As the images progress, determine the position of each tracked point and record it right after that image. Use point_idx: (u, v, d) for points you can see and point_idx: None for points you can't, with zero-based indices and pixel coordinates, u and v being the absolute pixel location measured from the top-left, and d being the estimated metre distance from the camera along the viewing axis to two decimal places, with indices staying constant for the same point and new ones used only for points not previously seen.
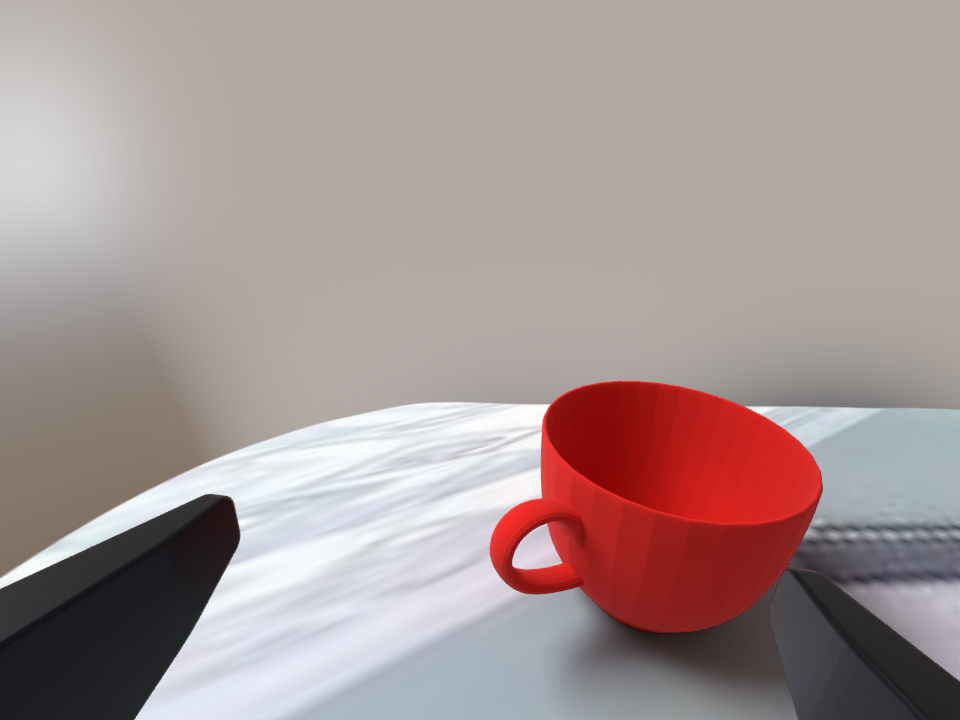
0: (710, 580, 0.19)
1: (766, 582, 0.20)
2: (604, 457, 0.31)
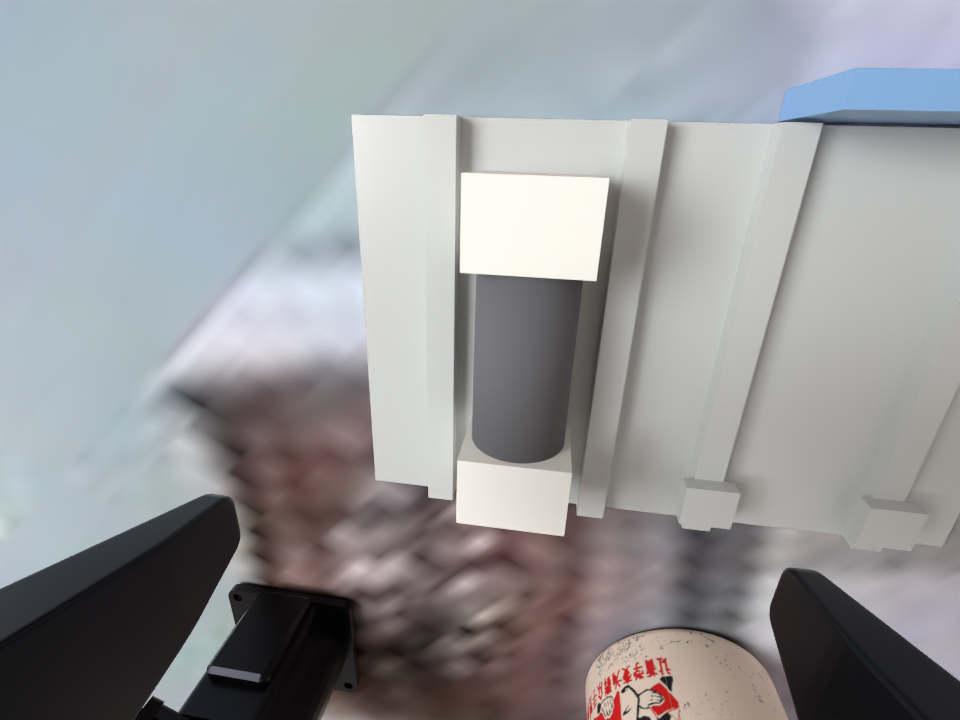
0: None
1: None
2: None
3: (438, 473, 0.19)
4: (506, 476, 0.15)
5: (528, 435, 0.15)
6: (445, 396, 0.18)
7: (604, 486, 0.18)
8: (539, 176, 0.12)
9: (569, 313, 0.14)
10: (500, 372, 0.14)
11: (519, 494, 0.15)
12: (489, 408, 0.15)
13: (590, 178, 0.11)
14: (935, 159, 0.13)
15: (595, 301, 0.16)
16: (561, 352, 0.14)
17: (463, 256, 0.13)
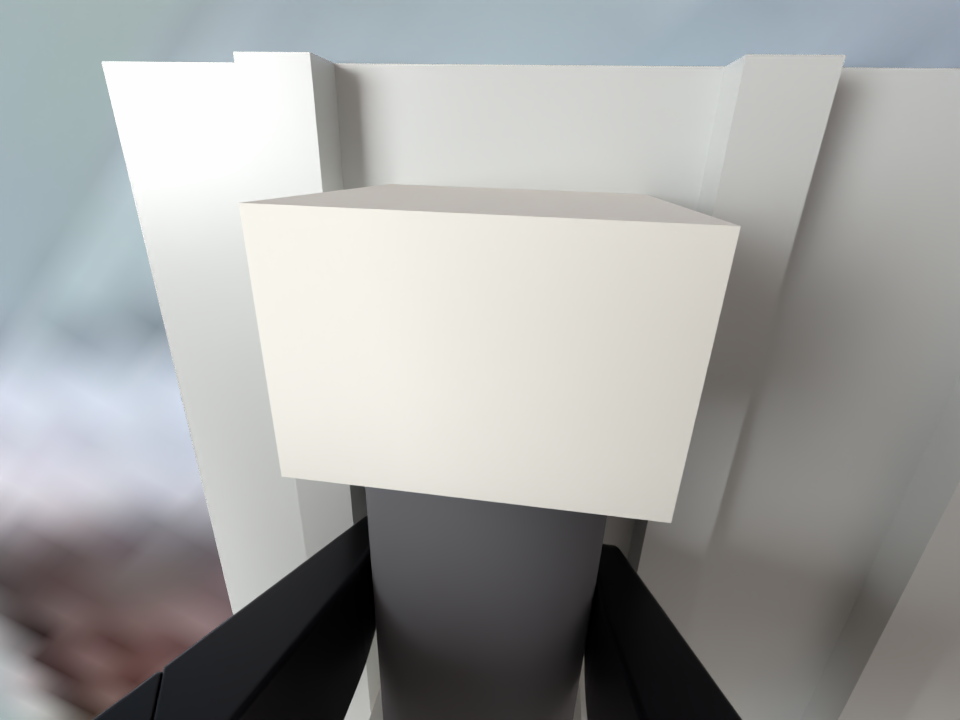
0: None
1: None
2: None
3: None
4: None
5: None
6: None
7: None
8: (492, 217, 0.03)
9: (585, 546, 0.05)
10: (419, 670, 0.06)
11: None
12: None
13: (670, 226, 0.03)
14: None
15: None
16: (565, 627, 0.06)
17: (286, 436, 0.04)
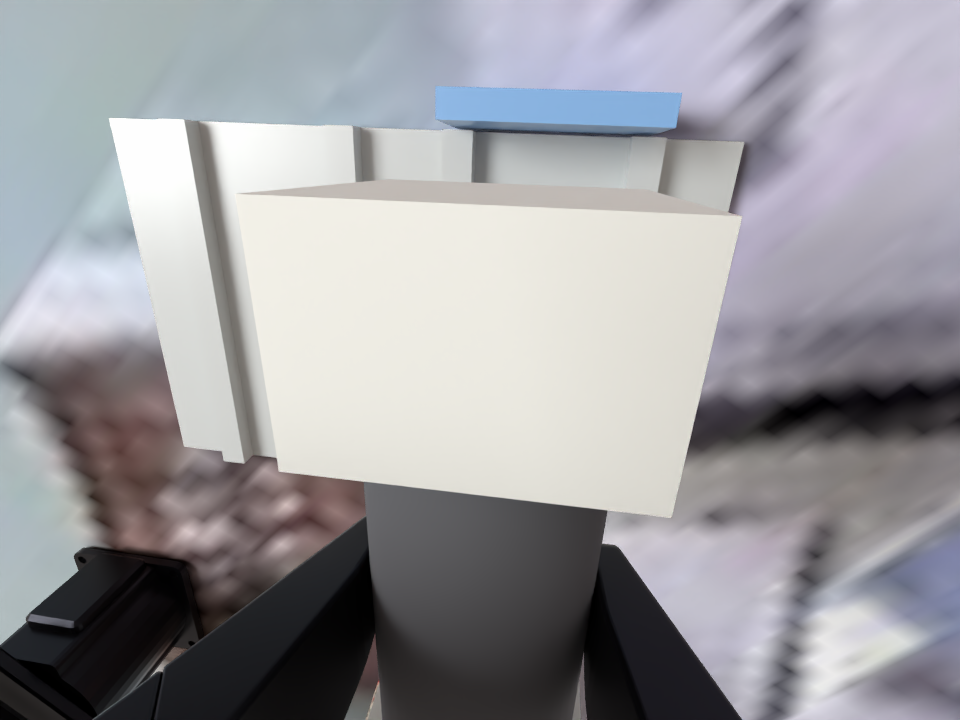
0: None
1: None
2: None
3: (228, 438, 0.21)
4: None
5: None
6: (221, 367, 0.20)
7: None
8: (491, 208, 0.03)
9: (585, 542, 0.05)
10: (418, 668, 0.06)
11: None
12: (401, 718, 0.07)
13: (671, 217, 0.03)
14: (578, 162, 0.16)
15: None
16: (565, 624, 0.06)
17: (283, 431, 0.04)
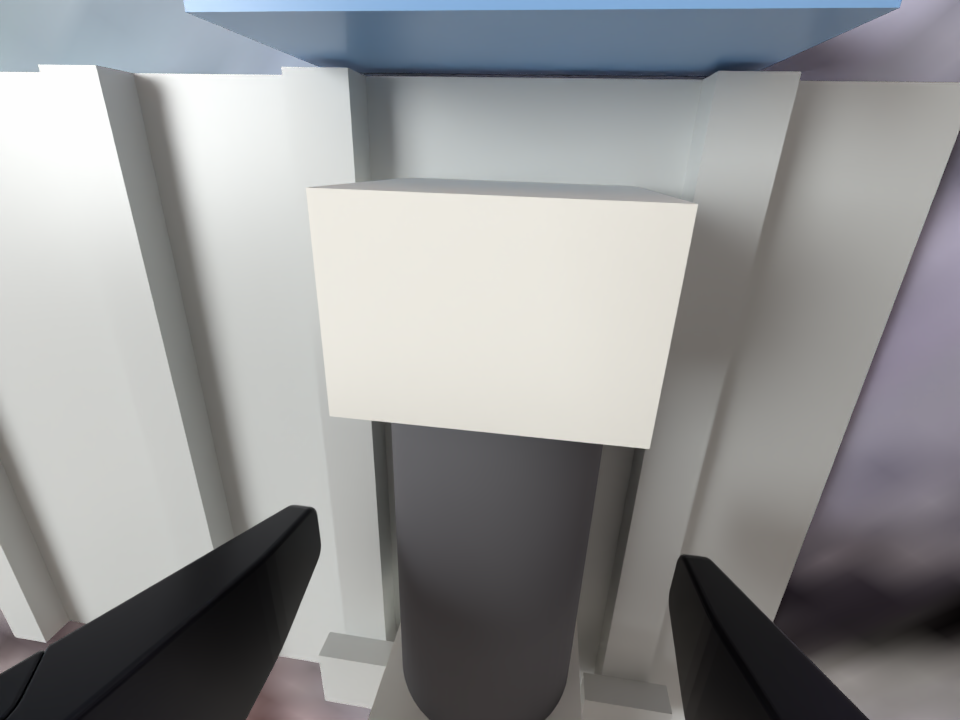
0: None
1: None
2: None
3: (12, 607, 0.13)
4: None
5: (498, 700, 0.07)
6: None
7: None
8: (507, 198, 0.04)
9: (581, 484, 0.06)
10: (438, 594, 0.07)
11: None
12: (422, 644, 0.07)
13: (645, 205, 0.04)
14: (587, 138, 0.07)
15: None
16: (564, 556, 0.07)
17: (334, 382, 0.05)
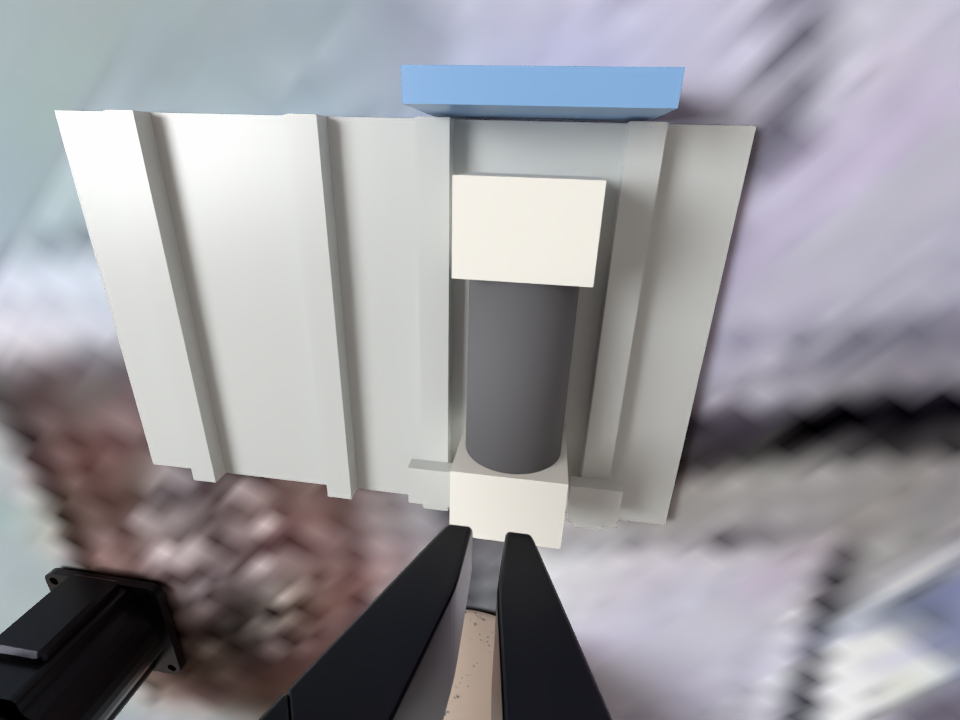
0: None
1: None
2: None
3: (197, 456, 0.20)
4: (500, 487, 0.15)
5: (523, 445, 0.14)
6: (186, 381, 0.18)
7: (345, 467, 0.19)
8: (533, 178, 0.11)
9: (565, 320, 0.13)
10: (494, 380, 0.14)
11: (514, 506, 0.15)
12: (483, 417, 0.14)
13: (586, 181, 0.11)
14: (569, 151, 0.14)
15: None
16: (557, 360, 0.13)
17: (455, 261, 0.12)
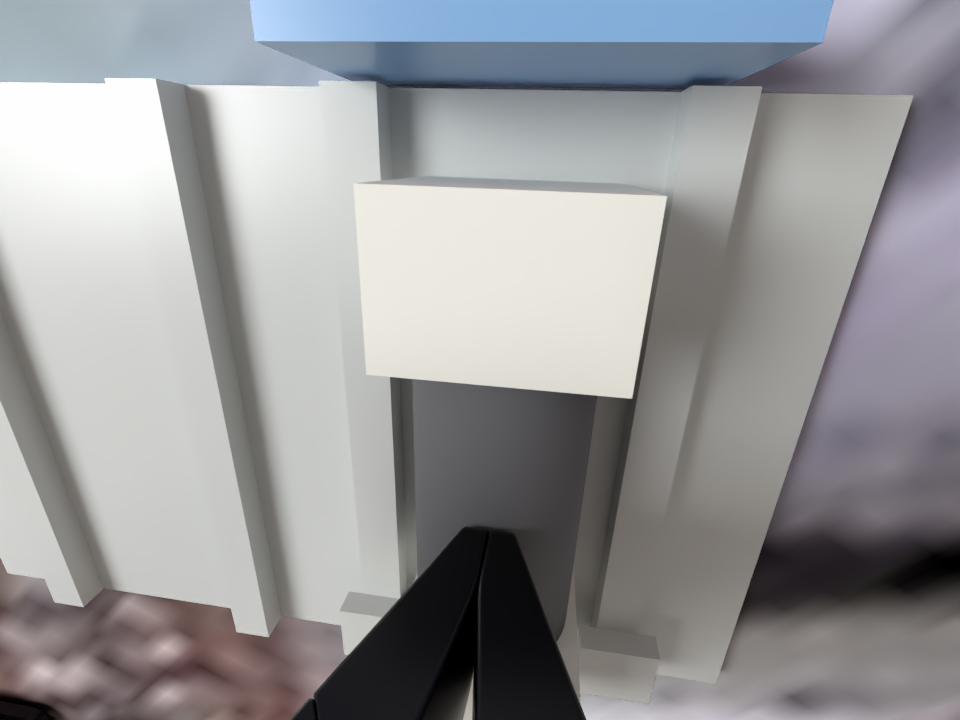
0: None
1: None
2: None
3: (54, 573, 0.14)
4: (469, 692, 0.09)
5: None
6: (22, 477, 0.13)
7: (256, 598, 0.13)
8: (516, 191, 0.05)
9: (576, 437, 0.07)
10: (454, 535, 0.08)
11: None
12: None
13: (625, 196, 0.05)
14: (582, 142, 0.08)
15: None
16: (562, 501, 0.08)
17: (371, 345, 0.06)
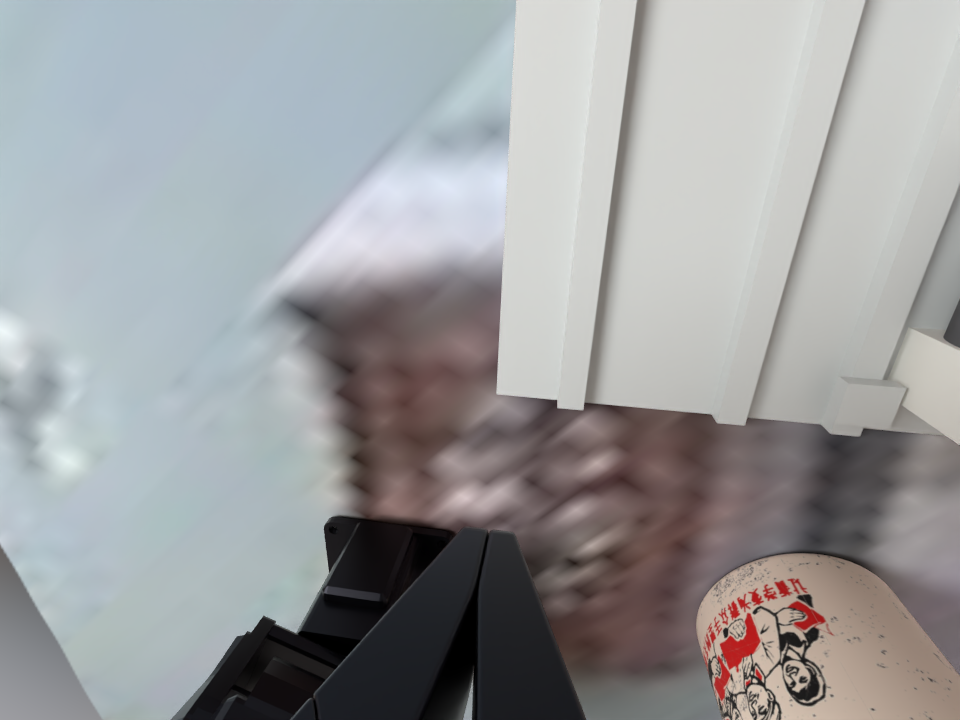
0: None
1: None
2: None
3: (571, 380, 0.18)
4: None
5: None
6: (590, 292, 0.17)
7: (751, 389, 0.17)
8: None
9: None
10: None
11: None
12: None
13: None
14: None
15: (760, 183, 0.15)
16: None
17: None
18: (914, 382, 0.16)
